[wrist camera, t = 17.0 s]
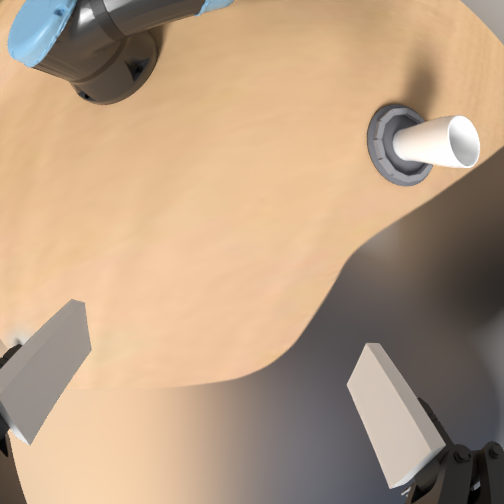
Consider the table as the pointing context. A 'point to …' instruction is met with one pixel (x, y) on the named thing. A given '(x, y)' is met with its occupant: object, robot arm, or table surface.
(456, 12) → the table surface
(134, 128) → the table surface
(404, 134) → the drinking glass
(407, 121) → the coaster
